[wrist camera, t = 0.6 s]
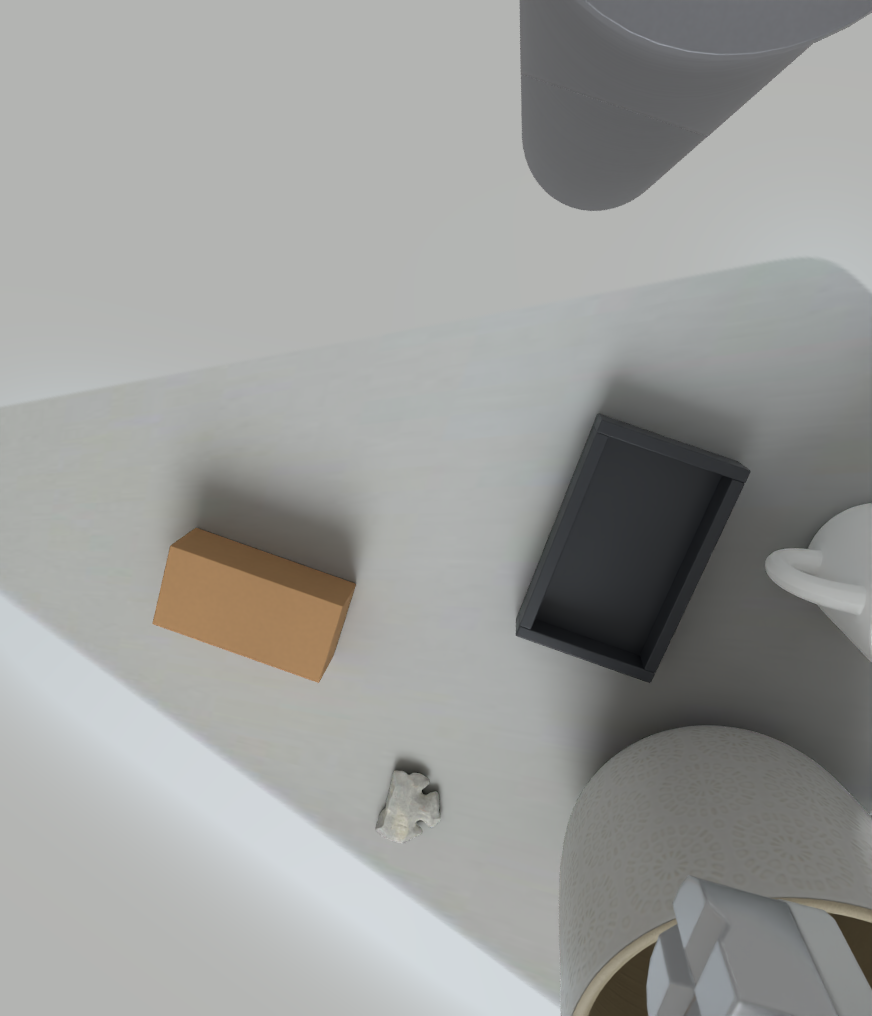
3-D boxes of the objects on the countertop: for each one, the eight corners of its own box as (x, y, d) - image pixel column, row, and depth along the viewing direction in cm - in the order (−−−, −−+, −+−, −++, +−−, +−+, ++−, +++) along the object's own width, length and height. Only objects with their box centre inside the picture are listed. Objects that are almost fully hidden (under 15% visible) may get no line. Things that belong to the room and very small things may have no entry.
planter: (539, 911, 57) (545, 1194, 39) (563, 670, 52) (584, 871, 34) (818, 946, 55) (961, 1262, 37) (876, 699, 50) (1079, 930, 32)
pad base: (597, 413, 47) (601, 419, 44) (739, 461, 47) (751, 471, 44) (515, 619, 51) (515, 636, 49) (644, 665, 51) (650, 683, 49)
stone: (441, 767, 55) (375, 763, 56) (440, 777, 54) (372, 773, 55) (441, 839, 57) (376, 835, 57) (439, 850, 56) (373, 846, 56)
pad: (196, 527, 52) (170, 545, 48) (356, 583, 52) (343, 606, 48) (178, 600, 54) (151, 624, 50) (333, 655, 54) (318, 683, 50)
